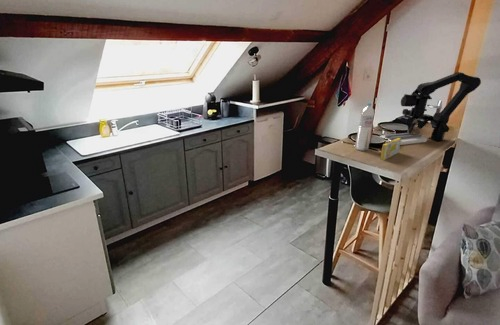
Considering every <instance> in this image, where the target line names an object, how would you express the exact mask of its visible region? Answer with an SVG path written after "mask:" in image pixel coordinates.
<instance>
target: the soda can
mask: <svg viewBox="0 0 500 325" xmlns="http://www.w3.org/2000/svg"><path fill="white" fill-rule="evenodd" d="M373 133H374V124H373V125H372V131H371V136H370V141H369V142H370V143H371V142H372V138H373V137H372V136H373Z"/></svg>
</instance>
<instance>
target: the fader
mask: <svg viewBox="0 0 500 325" xmlns="http://www.w3.org/2000/svg"><path fill="white" fill-rule="evenodd" d="M420 129H421V128H419V127H417V125H416V126H414V128H413V130H412V131H411V135H412V134H421V130H422V129H421V130H420ZM406 133H409V132H408V130H407V132H406Z"/></svg>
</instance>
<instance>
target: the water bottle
mask: <svg viewBox="0 0 500 325" xmlns="http://www.w3.org/2000/svg"><path fill="white" fill-rule="evenodd" d="M375 115H376V111H375V109H374V108H373V107H372V103H367V106H365V107H364V108H362V109H361V111H360V116H359V117H360V118H359V123H358V128H357V132H356V133H357V134H356V141H355V144H354V145H355V146H354V148H355V150H357V151H361V152H366V151H368V150H369V146H370V143H369V141H370V136H371V131H372V125H373V126H374V118H375Z"/></svg>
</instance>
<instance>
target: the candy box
mask: <svg viewBox="0 0 500 325" xmlns="http://www.w3.org/2000/svg"><path fill="white" fill-rule="evenodd" d="M400 143H401V138H397V139H394V140H392V141H390V142H388V143H386V142H384V143H383V144H382V147H381V152H380V153H381V154H380V160H381V161H385V160H387V159H389V158H392V157H393V156H395V155H397V154H400V153H399V152H400V148H401V145H400Z"/></svg>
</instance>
